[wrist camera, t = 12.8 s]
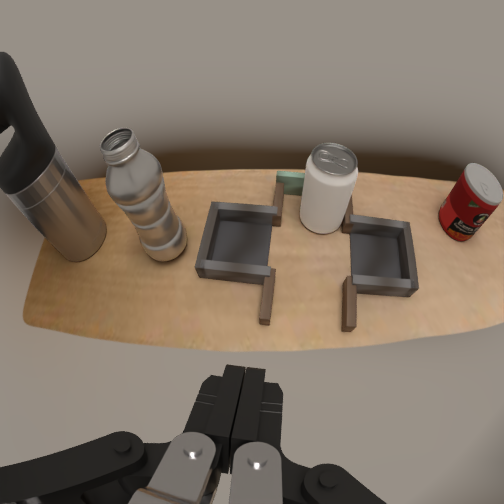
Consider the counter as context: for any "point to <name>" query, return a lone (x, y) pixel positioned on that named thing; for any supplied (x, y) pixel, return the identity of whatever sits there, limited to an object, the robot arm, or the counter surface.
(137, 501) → the robot arm
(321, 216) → the can
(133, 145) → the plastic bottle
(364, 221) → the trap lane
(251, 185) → the counter surface
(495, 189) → the canned food
